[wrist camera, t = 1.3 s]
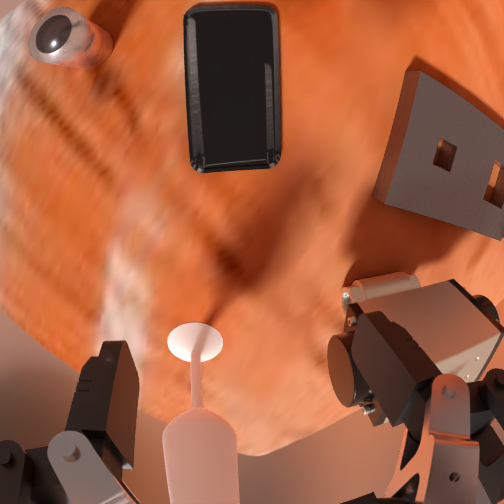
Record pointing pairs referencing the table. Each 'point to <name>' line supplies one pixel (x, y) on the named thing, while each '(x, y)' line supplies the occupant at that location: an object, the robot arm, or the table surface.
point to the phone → (232, 87)
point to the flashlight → (69, 40)
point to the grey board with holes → (443, 158)
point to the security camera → (415, 331)
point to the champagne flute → (199, 431)
